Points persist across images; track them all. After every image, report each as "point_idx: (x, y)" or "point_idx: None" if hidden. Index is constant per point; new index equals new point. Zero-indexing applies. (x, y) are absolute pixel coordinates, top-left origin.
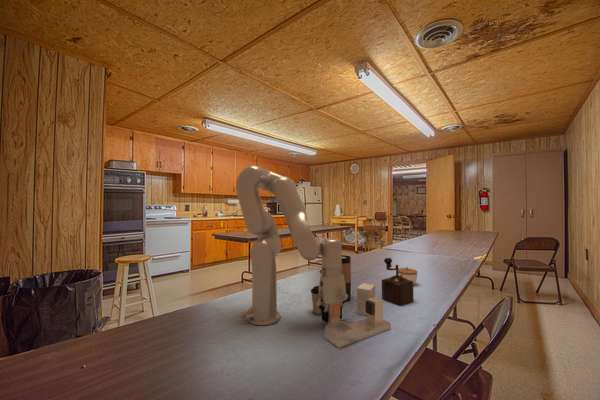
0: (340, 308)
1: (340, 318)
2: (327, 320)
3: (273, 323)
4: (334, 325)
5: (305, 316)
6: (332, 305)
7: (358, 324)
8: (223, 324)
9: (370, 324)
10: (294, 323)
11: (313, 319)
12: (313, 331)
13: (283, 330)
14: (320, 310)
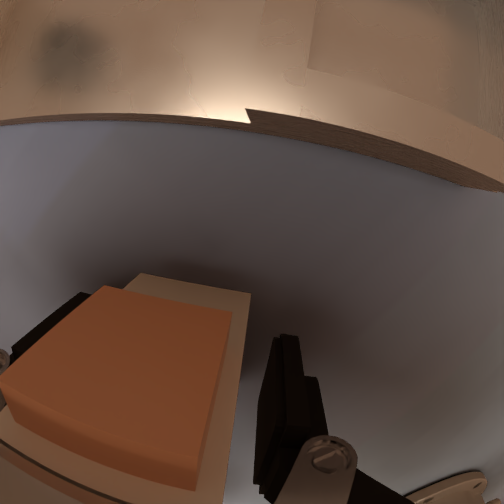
0: None
1: None
2: (291, 347)
3: (452, 477)
4: (442, 118)
5: None
6: (174, 488)
7: (74, 50)
8: (498, 493)
9: (22, 16)
10: (398, 458)
11: None
12: (434, 326)
13: (490, 418)
14: None
